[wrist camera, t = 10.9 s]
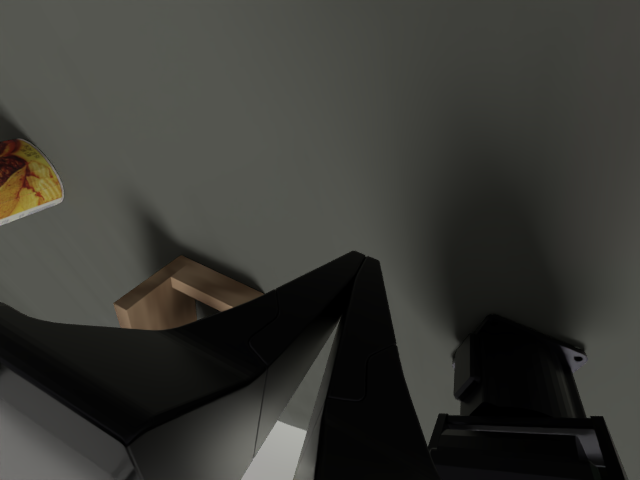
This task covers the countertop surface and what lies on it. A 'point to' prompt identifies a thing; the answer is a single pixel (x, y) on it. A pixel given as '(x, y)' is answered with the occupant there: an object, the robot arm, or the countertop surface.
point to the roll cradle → (179, 296)
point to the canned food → (26, 181)
